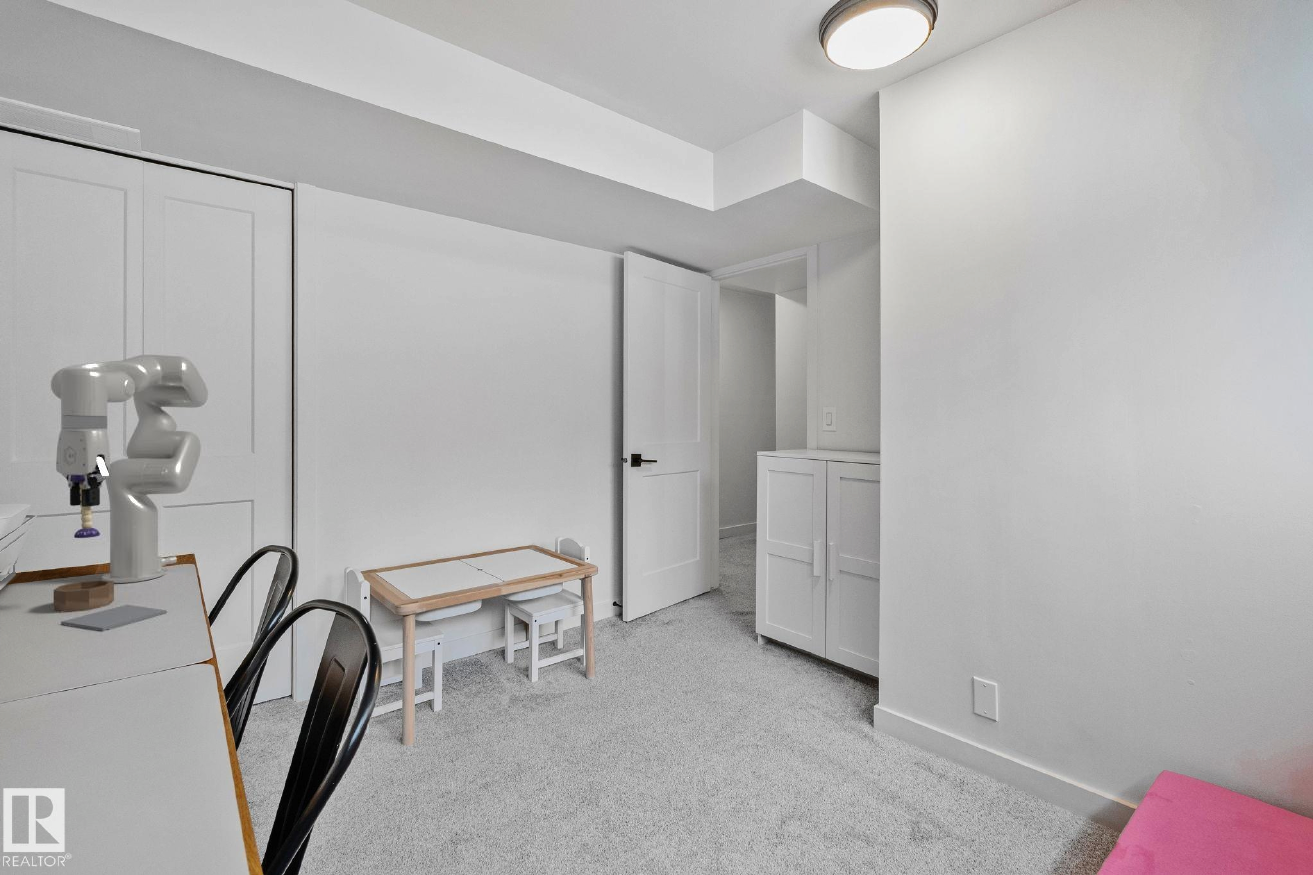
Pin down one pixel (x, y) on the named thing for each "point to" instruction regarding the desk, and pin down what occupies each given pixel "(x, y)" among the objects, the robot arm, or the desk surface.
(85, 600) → the holder ring
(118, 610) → the mat
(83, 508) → the toy lamp
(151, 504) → the robot arm
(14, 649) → the desk surface
